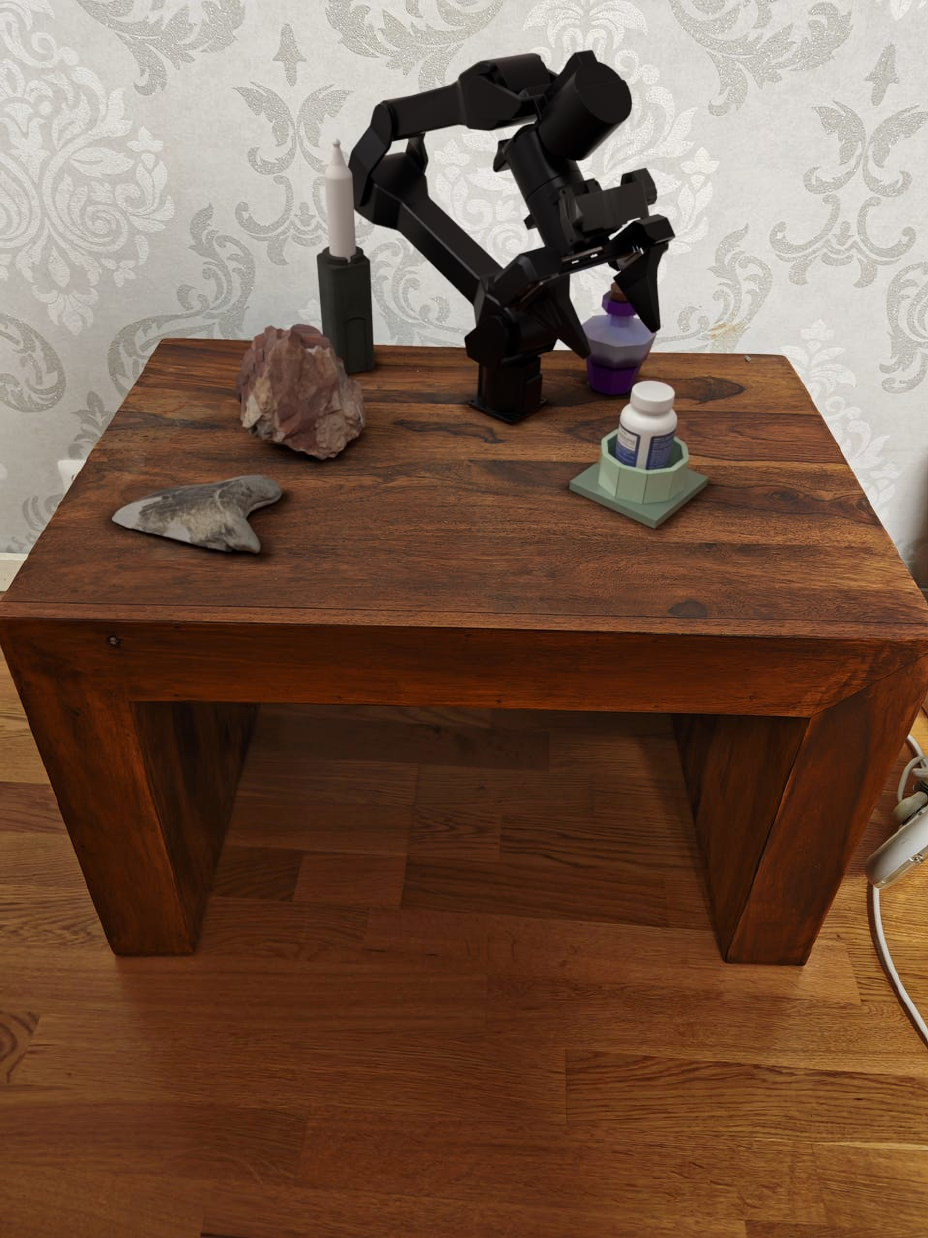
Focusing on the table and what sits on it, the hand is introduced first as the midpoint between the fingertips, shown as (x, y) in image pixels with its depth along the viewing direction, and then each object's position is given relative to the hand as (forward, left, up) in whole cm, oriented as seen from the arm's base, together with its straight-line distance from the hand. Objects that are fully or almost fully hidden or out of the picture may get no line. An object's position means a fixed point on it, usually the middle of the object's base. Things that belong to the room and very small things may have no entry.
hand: (622, 343), depth 91 cm
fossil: (-24, -34, -14) cm, 44 cm away
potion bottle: (-9, +15, -14) cm, 22 cm away
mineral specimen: (-28, -16, -14) cm, 35 cm away
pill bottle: (+4, -1, -13) cm, 14 cm away
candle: (-35, -2, -14) cm, 38 cm away
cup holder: (+5, -1, -14) cm, 14 cm away
